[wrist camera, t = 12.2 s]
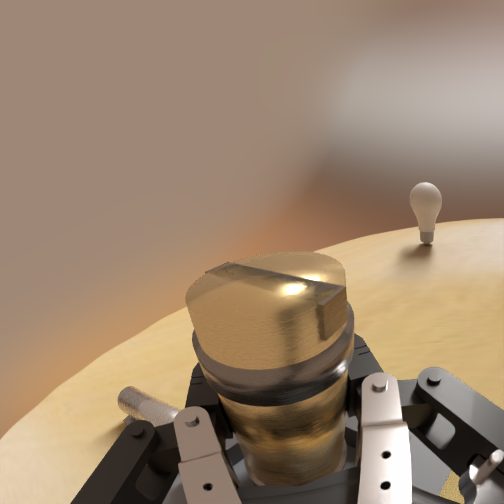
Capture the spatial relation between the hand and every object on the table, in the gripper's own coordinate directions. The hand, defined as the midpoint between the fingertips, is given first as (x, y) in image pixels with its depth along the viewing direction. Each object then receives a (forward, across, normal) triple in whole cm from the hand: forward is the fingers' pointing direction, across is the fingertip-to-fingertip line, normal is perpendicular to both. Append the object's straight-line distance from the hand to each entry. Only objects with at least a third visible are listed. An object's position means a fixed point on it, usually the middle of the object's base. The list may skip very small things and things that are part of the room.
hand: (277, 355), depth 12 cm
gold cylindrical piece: (-3, 0, +7) cm, 7 cm away
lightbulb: (+30, -30, +9) cm, 43 cm away
